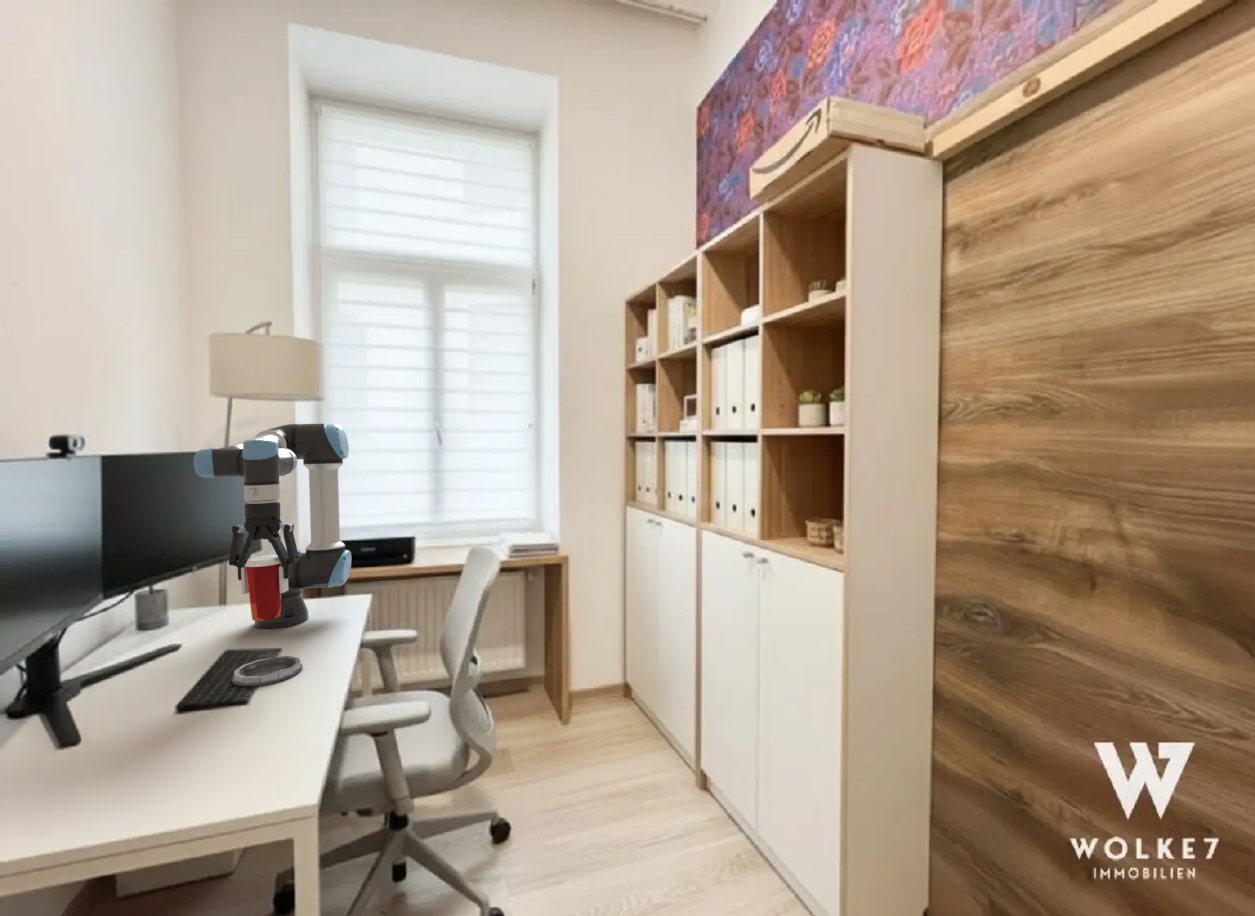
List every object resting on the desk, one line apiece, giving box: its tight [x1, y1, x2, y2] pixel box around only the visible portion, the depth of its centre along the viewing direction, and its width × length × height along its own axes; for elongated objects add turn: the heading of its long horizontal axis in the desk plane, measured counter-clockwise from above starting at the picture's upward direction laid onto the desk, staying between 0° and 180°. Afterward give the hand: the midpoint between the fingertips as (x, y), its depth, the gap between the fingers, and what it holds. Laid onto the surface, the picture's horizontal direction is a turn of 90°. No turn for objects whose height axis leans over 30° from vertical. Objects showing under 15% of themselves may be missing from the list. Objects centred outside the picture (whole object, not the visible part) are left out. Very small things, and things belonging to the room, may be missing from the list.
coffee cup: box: [245, 554, 282, 622], centre depth 144 cm, size 8×8×15 cm
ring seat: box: [231, 655, 303, 688], centre depth 145 cm, size 15×15×2 cm
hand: (265, 592), depth 144 cm, fingers closed on coffee cup, 8 cm apart
